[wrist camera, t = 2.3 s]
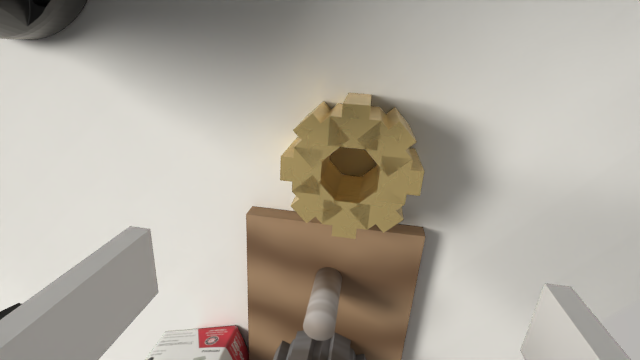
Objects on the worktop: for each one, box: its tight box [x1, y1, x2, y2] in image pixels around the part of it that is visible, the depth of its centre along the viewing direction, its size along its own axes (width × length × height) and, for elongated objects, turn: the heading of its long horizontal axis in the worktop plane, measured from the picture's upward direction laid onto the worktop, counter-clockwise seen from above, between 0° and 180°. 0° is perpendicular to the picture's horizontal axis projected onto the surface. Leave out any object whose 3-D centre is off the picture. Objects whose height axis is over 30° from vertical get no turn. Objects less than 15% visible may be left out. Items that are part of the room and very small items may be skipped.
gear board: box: [246, 206, 425, 360], centre depth 29 cm, size 20×14×7 cm
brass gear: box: [280, 93, 424, 239], centre depth 24 cm, size 9×9×5 cm
